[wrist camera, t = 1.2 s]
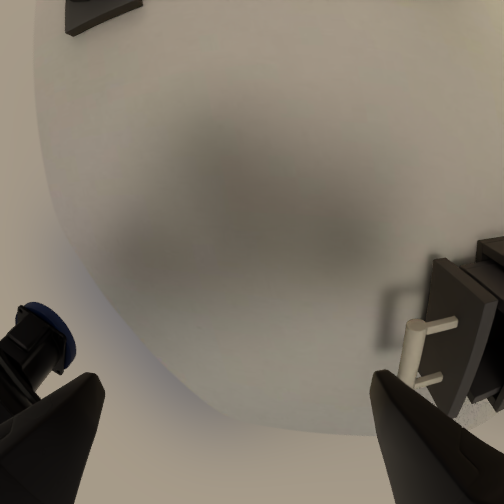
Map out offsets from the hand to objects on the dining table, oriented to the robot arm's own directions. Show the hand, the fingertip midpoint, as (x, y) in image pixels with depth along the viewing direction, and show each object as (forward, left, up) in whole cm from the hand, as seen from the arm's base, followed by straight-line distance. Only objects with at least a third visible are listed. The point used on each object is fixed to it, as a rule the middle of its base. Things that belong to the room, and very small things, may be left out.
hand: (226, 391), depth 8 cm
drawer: (+4, -18, -12) cm, 22 cm away
